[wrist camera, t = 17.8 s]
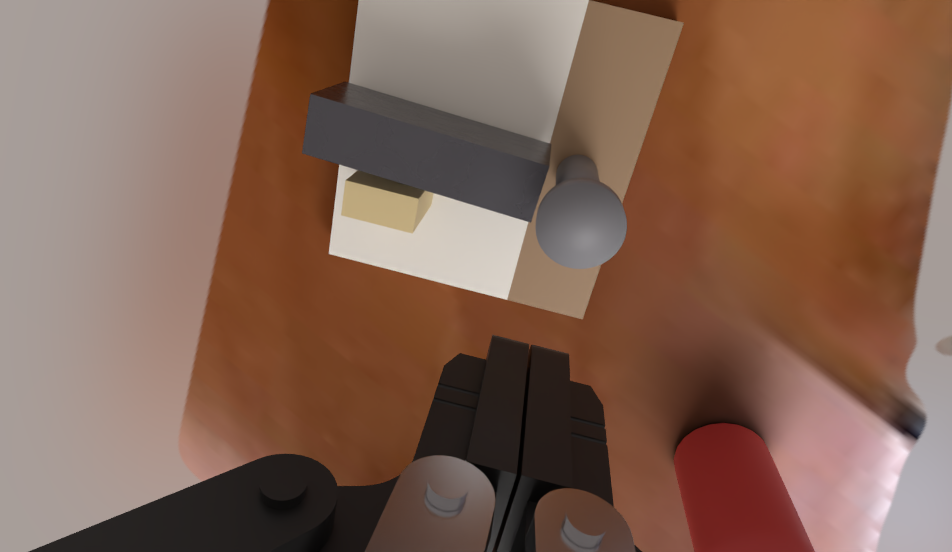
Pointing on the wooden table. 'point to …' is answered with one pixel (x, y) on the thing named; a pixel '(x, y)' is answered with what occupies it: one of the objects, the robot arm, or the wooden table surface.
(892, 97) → the wooden table surface
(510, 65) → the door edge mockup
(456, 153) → the block
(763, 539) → the beer can
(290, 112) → the wooden table surface
